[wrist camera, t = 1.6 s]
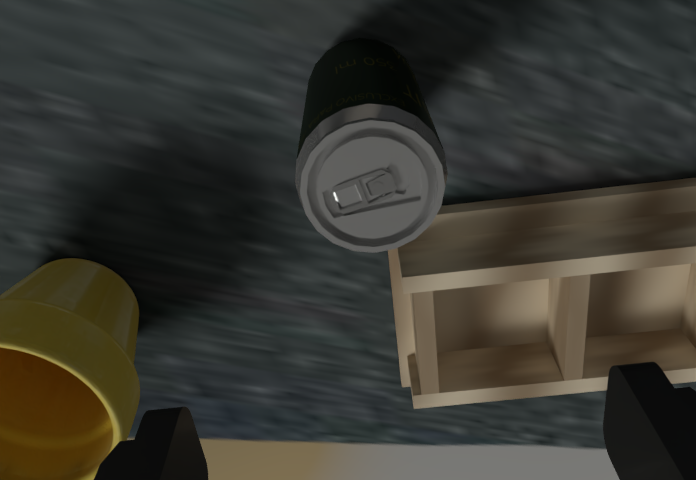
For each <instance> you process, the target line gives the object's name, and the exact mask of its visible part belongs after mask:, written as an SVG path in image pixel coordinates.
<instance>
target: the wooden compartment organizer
mask: <svg viewBox="0 0 696 480" xmlns="http://www.w3.org/2000/svg"><path fill="white" fill-rule="evenodd" d="M388 257H389V266H390V276H391V286H392V296H393V306H394V316H395V325H396V335H397V345H398V355H399V365H400V374H401V383H402V387H409V386H411V391H412V398H413V405H414V409H417V408H427V407H437V406H448V405H458V404H468V403H479V402H489V401H499V400H510V399H520V398H530V397H541V396H551V395H561V394H572V393H582V392H592V391H603V390H607V384H608V375H609V370H610V368H611V367H612V366H614V365H624V364H634V363H644V362H655V363H657V364H658V365H659V366H660V368H661V369H662V370H663V372H664V373H665V375H666V376H667V378H668V379H669V381H670V382H671V384H675V383H685V382H696V178H687V179H678V180H669V181H660V182H651V183H642V184H634V185H625V186H616V187H607V188H598V189H589V190H580V191H571V192H562V193H553V194H544V195H535V196H526V197H517V198H508V199H499V200H490V201H481V202H472V203H463V204H454V205H445V206H441V208H440V210H439V211H438V213H437V215H436V217H435V218H434V220H433V222H432V224H431V225H430V226H429V227H428V228H427V229H426V230H425V231H424V232H422V233H421V234H420V235H419V236H418V237H417V238H416V239H414V240H412V241H410V242H408V243H406V244H404V245H402V246H400V247H398V248H396V249H392V250H388Z"/></svg>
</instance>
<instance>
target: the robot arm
mask: <svg viewBox="0 0 696 480" xmlns="http://www.w3.org/2000/svg"><path fill="white" fill-rule="evenodd" d="M603 433H604V440H605V445H606V449H607V452H608V455H609V457H610V460H611V462H612V464H613V466H614V468H615V470H616V472H617V475H618V477H619V479H620V480H696V391H695V390H693V389H692V388H691V387H685V388H674V387H673V385H672V384H671V382H670V381H669V379H668V378H667V376H666V375H665V373H664V372H663V370H662V369H661V368H660V366H659V365H658V364H657V363H655V362H644V363H634V364H624V365H614V366H612V367H611V368H610V370H609V375H608V384H607V393H606V402H605V411H604V421H603ZM94 480H208V469H207V463H206V459H205V457H204V453H203V450H202V447H201V444H200V441H199V437H198V434H197V431H196V428H195V425H194V422H193V419H192V416H191V413H190V411H189V409H188V408H187V407H178V408H168V409H158V410H148V411H146V412H145V414H144V415H143V418H142V420H141V423H140V426H139V428H138V431H137V434H136V437H135V439H134V440H127V441H120V442H119V443H118V444H117V445H116V446H115V447H114V449H113V450H112V451H111V452H110V453H109V454H108V456H107V457H106V458H105V459H104V460H103V461H102V463H101V464H100V466H99V468H98V471H97V473H96V475H95V478H94Z"/></svg>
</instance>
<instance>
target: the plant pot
mask: <svg viewBox="0 0 696 480" xmlns="http://www.w3.org/2000/svg"><path fill="white" fill-rule="evenodd" d="M138 322H139V308H138V303H137V300H136V297H135V295H134V293H133V291H132V289H131V288H130V287H129V285H128V284H127V283H126V282H125V281H124V280H123V279H122V278H121V277H120V276H119V275H118V274H116V273H115V272H114V271H112V270H111V269H109V268H107V267H105V266H103V265H101V264H99V263H96V262H93V261H89V260H85V259H77V258H66V259H59V260H55V261H52V262H49V263H47V264H45V265H43V266H41V267H40V268H38V269H37V270H36V271H34V272H33V273H31V274H30V275H28V276H27V277H26V278H24V279H23V280H21V281H20V282H19V283H17V284H16V285H14V286H13V287H11V288H10V289H9V290H7V291H6V292H4V293H3V294H1V295H0V480H94V478H95V475H96V473H97V471H98V468H99V466H100V464H101V463H102V461H103V460H104V459H105V458H106V457H107V456H108V454H109V453H110V452H111V451H112V450H113V449H114V447H115V446H116V445H117V444H118V443H119V442H120V441H126V440H127V438H128V435H129V432H130V429H131V427H132V424H133V420H134V417H135V414H136V411H137V407H138V404H139V396H140V386H139V380H138V376H137V372H136V370H135V367H134V358H135V349H136V340H137V331H138Z"/></svg>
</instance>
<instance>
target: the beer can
mask: <svg viewBox="0 0 696 480" xmlns="http://www.w3.org/2000/svg"><path fill="white" fill-rule="evenodd" d="M447 175H448V173H447V166H446V160H445V153H444V150H443V147H442V145H441V142H440V140H439V137H438V135H437V132H436V129H435V127H434V124H433V122H432V119H431V117H430V114H429V112H428V109H427V107H426V104H425V102H424V99H423V96H422V94H421V91H420V89H419V86H418V84H417V81H416V79H415V76H414V74H413V72H412V70H411V68H410V66H409V64H408V62H407V61H406V59H405V58H404V57H403V56H402V55H401V54H400V53H399V52H398V51H397V50H395V49H394V48H393V47H391V46H389V45H387V44H385V43H383V42H380V41H378V40H372V39H362V38H358V39H354V40H349V41H345V42H341V43H340V44H338V45H336V46H335V47H333V48H331V49H330V50H328V51H327V52H326V53H325V54H324V55H323V56H322V57H321V59H320V60H319V61H318V62H317V63H316V64H315V67H314V69H313V71H312V74H311V76H310V79H309V82H308V89H307V95H306V102H305V108H304V115H303V121H302V128H301V134H300V141H299V147H298V154H297V161H296V175H295V184H296V188H297V191H298V195H299V198H300V202H301V204H302V206H303V207H304V210H305V214H306V215H307V217H308V218H309V220H310V221H311V223H312V224H313V225H314V227H315V228H316V230H317V231H318V232H319V233H321V234H322V235H323V236H325V237H326V238H327V239H329V240H330V241H331V242H332V243H334V244H337V245H339V246H342V247H345V248H347V249H350V250H352V251H361V252H373V253H376V252H381V251H386V250H392V249H396V248H398V247H400V246H402V245H404V244H406V243H408V242H410V241H412V240H414V239H416V238H417V237H418V236H419V235H420V234H421V233H422V232H424V231H425V230H426V229H427V228H428V227H429V226H430V225H431V224H432V222H433V220H434V218H435V217H436V215H437V213H438V211H439V210H440V208H441V205H442V200H443V195H444V190H445V185H446V180H447Z"/></svg>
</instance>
